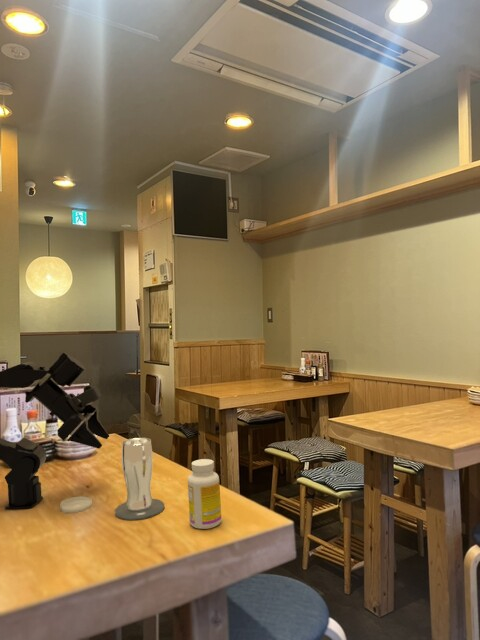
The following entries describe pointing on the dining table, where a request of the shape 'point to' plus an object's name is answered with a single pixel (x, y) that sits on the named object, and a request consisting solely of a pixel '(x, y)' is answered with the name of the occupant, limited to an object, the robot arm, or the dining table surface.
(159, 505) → the coaster
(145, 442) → the beer glass
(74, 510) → the dish
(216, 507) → the supplement bottle
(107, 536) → the dining table surface
